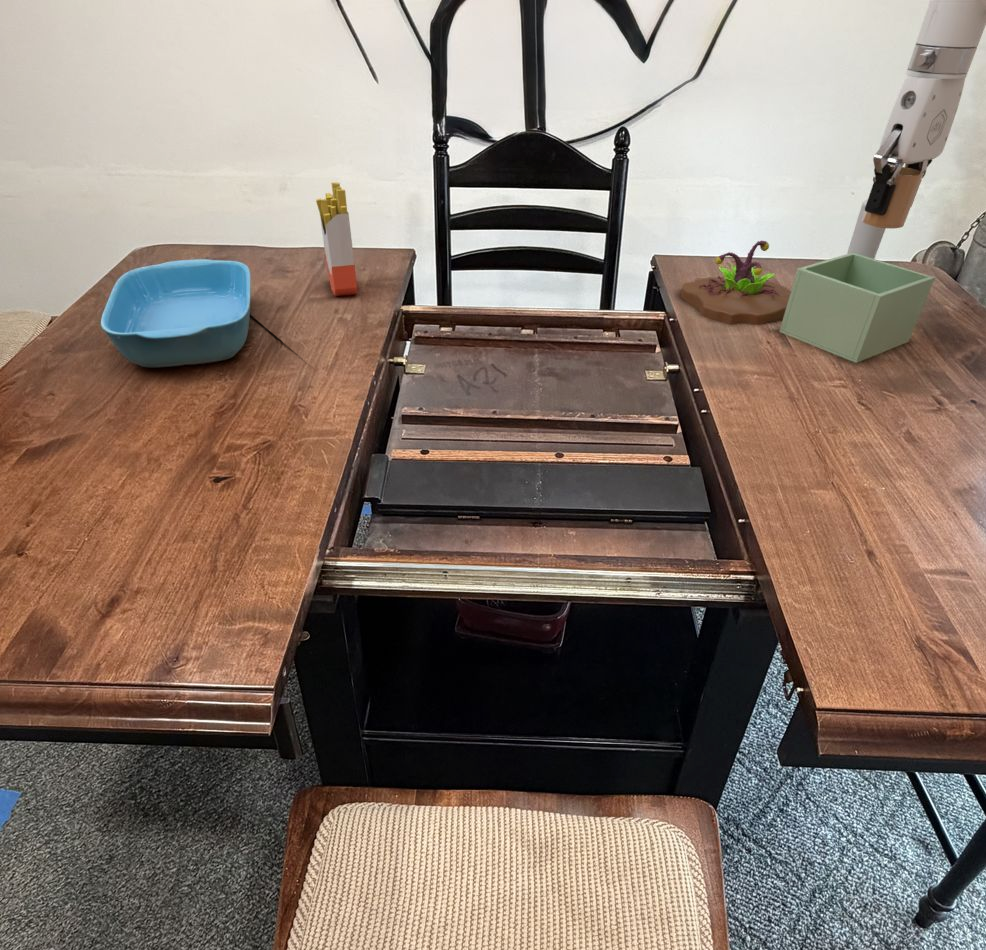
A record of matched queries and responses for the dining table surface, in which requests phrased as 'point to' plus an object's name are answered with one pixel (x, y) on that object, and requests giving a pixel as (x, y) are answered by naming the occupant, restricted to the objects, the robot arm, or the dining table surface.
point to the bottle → (866, 235)
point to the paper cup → (897, 200)
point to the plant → (738, 293)
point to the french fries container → (338, 241)
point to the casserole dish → (180, 312)
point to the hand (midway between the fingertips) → (887, 208)
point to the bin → (855, 305)
